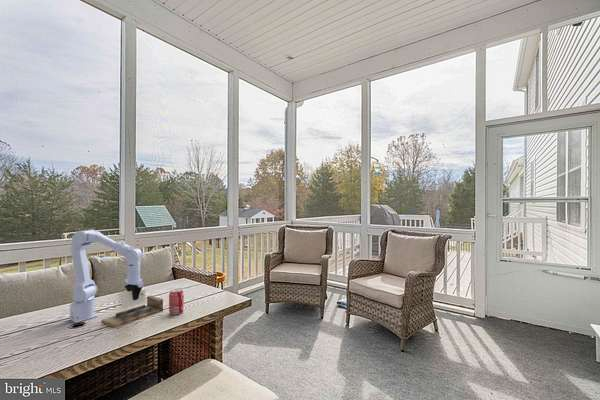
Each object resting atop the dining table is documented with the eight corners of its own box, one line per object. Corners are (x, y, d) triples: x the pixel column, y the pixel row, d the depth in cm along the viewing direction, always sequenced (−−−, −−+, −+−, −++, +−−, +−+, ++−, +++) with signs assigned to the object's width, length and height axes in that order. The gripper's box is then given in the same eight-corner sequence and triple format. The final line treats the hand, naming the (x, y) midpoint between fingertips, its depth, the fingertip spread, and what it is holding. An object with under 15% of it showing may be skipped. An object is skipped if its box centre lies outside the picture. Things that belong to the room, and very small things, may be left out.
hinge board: (113, 327, 129) (113, 314, 129) (101, 321, 135) (101, 309, 135) (162, 310, 149) (162, 299, 149) (150, 306, 155) (150, 295, 155)
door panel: (125, 308, 137) (125, 294, 137) (121, 307, 139) (121, 293, 139) (146, 302, 145) (146, 289, 145) (142, 301, 147) (142, 287, 147)
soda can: (180, 309, 151) (180, 287, 151) (185, 313, 146) (185, 290, 146) (167, 313, 146) (167, 290, 146) (172, 316, 141) (172, 293, 141)
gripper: (149, 272, 142) (149, 299, 142) (134, 269, 150) (134, 294, 149) (135, 275, 136) (135, 303, 136) (120, 271, 144) (120, 298, 143)
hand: (133, 299), depth 142 cm, fingers closed on door panel, 3 cm apart
